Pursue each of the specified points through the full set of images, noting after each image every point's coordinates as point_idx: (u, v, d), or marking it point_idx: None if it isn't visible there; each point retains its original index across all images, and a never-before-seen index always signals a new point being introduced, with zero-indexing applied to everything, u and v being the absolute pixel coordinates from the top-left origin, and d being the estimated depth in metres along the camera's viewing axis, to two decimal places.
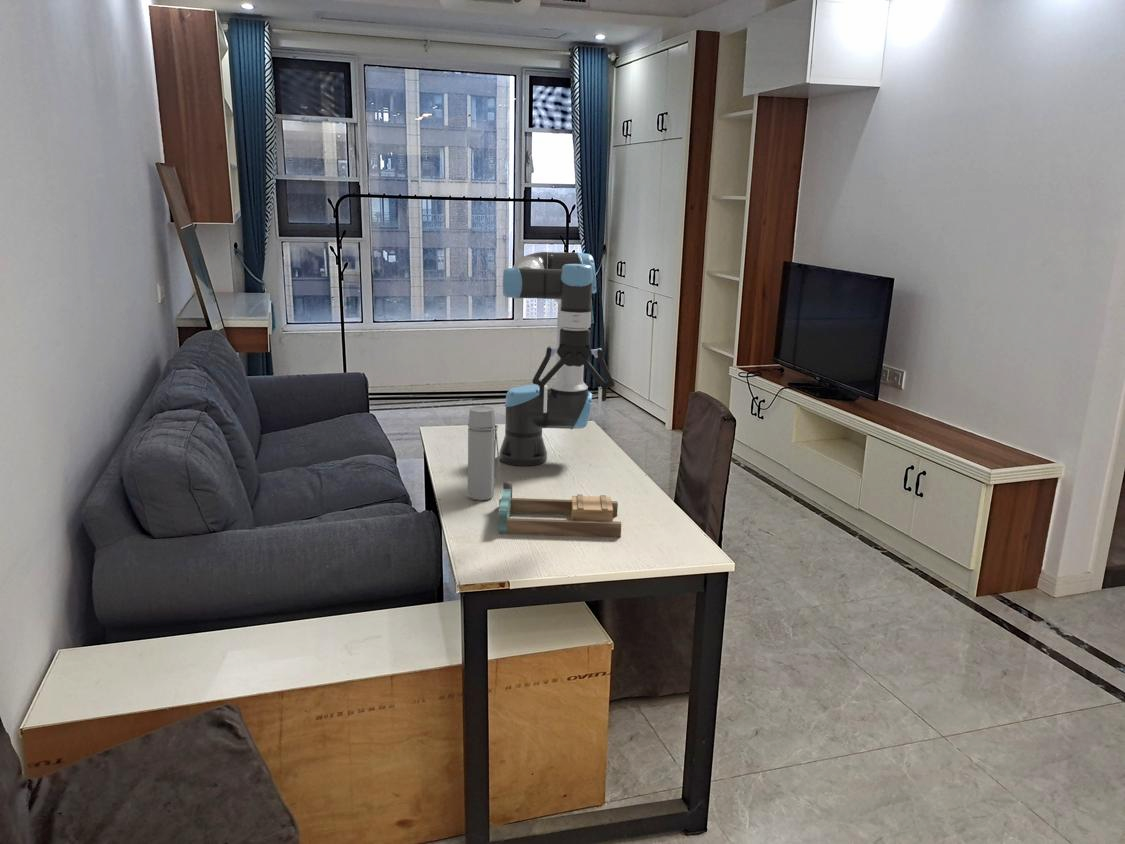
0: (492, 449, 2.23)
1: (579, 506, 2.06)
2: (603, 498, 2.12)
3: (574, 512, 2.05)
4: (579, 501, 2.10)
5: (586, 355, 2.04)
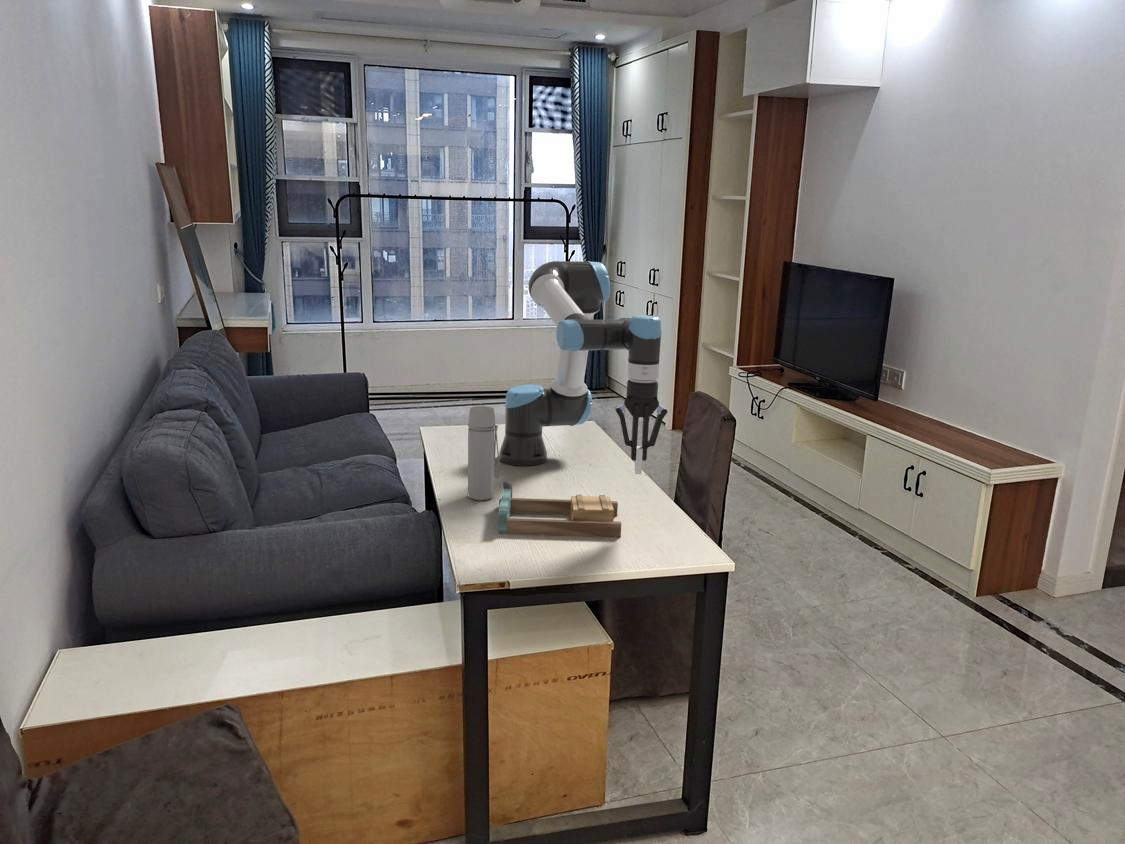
0: (492, 449, 2.23)
1: (580, 506, 2.06)
2: (603, 498, 2.12)
3: (575, 512, 2.05)
4: (579, 501, 2.09)
5: (652, 406, 2.02)
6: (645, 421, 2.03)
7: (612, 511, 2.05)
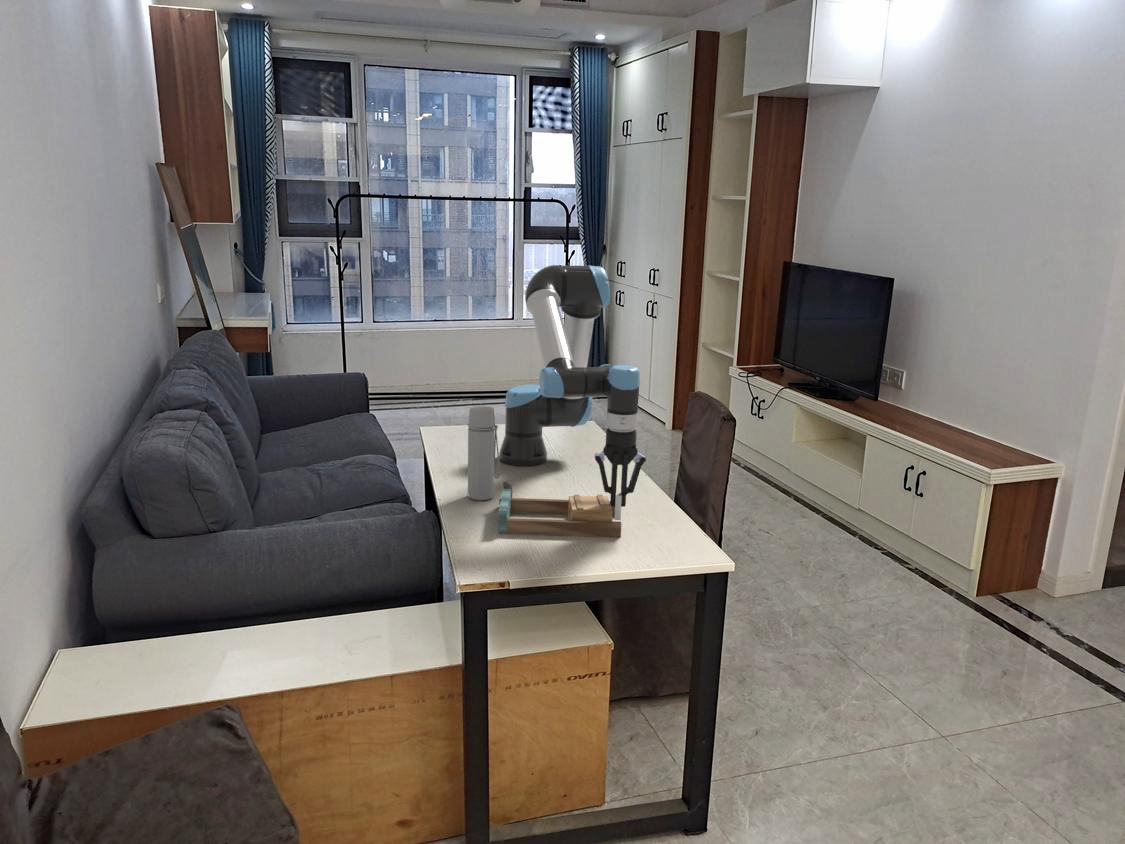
0: (492, 449, 2.23)
1: (578, 506, 2.06)
2: (600, 498, 2.13)
3: (574, 512, 2.05)
4: (577, 501, 2.09)
5: (631, 454, 2.06)
6: (624, 469, 2.06)
7: (611, 511, 2.06)
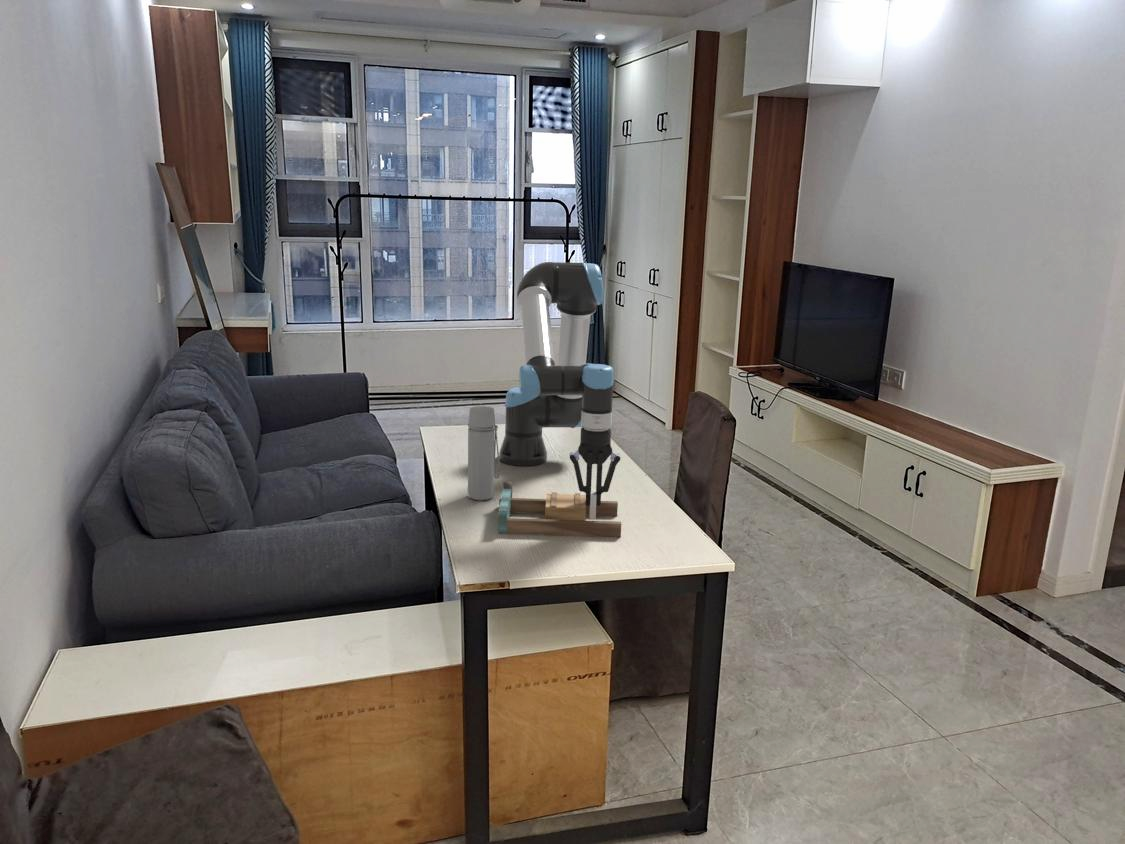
0: (492, 449, 2.23)
1: (552, 504, 2.07)
2: (577, 496, 2.13)
3: (547, 510, 2.06)
4: (553, 499, 2.11)
5: (605, 453, 2.06)
6: (598, 468, 2.06)
7: (584, 509, 2.06)
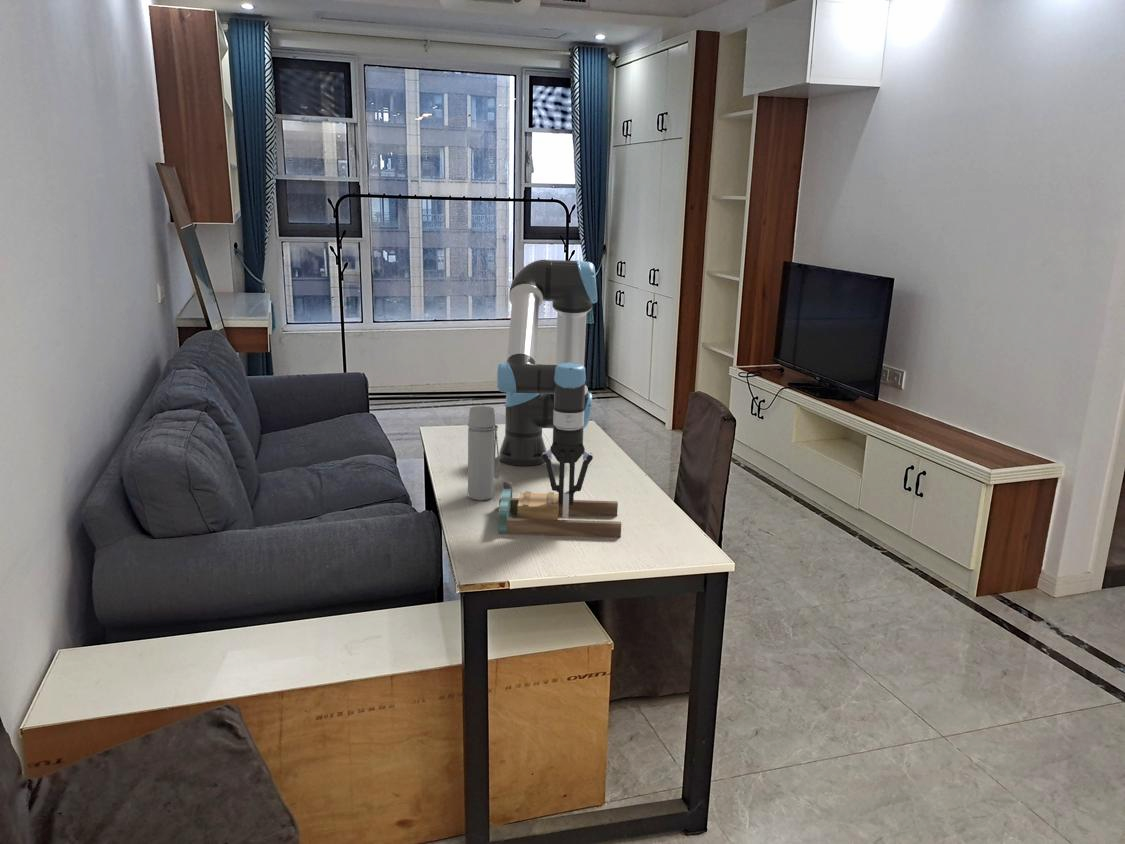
0: (492, 449, 2.23)
1: (524, 503, 2.07)
2: (550, 495, 2.13)
3: (519, 509, 2.06)
4: (525, 498, 2.11)
5: (578, 452, 2.06)
6: (571, 467, 2.06)
7: (556, 508, 2.06)
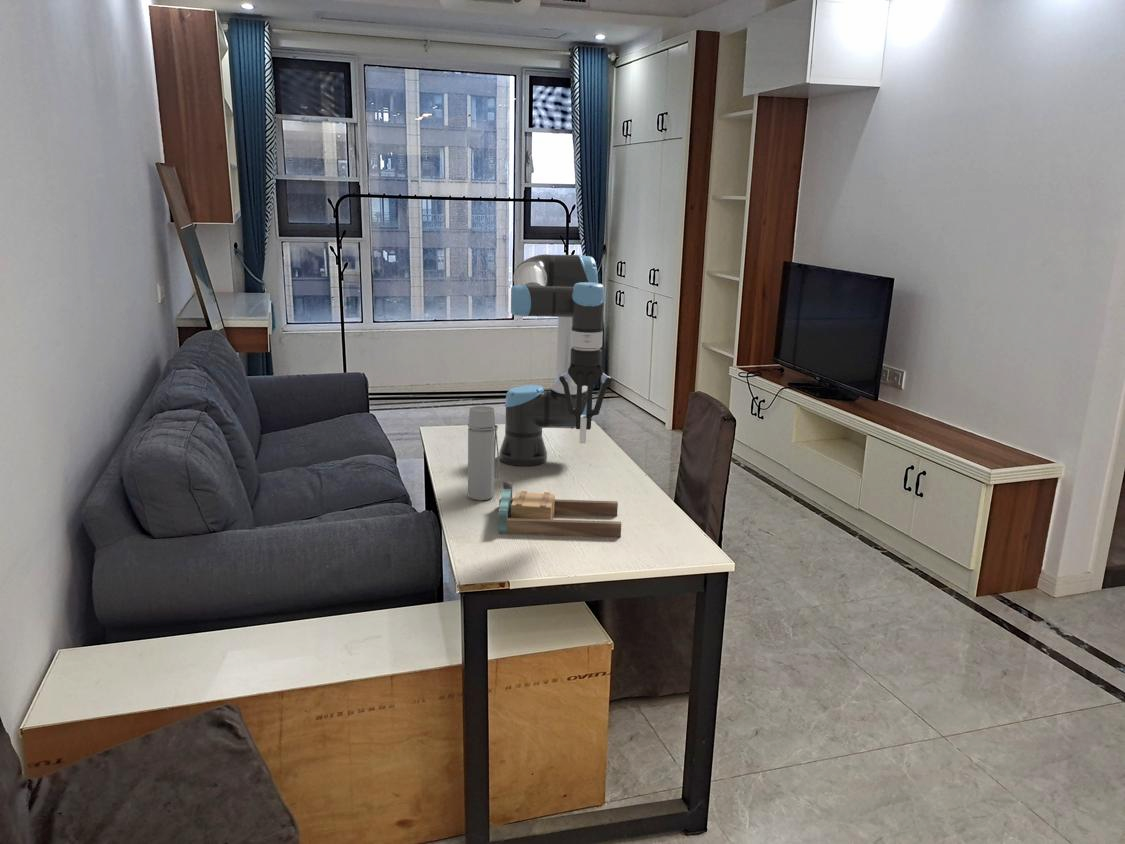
0: (492, 449, 2.23)
1: (518, 502, 2.07)
2: (546, 495, 2.13)
3: (512, 508, 2.07)
4: (520, 497, 2.11)
5: (596, 374, 2.01)
6: (589, 390, 2.01)
7: (549, 508, 2.06)
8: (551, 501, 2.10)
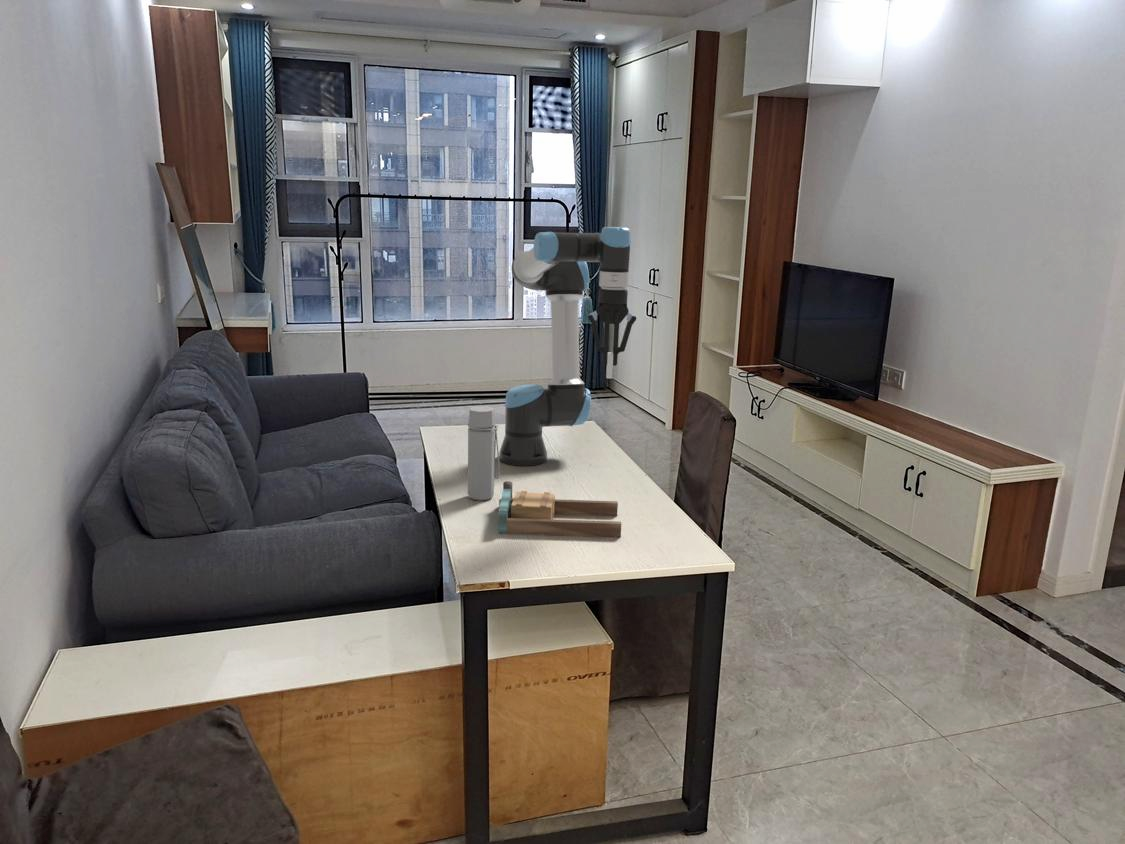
0: (492, 449, 2.23)
1: (518, 502, 2.07)
2: (546, 495, 2.13)
3: (512, 508, 2.07)
4: (520, 497, 2.11)
5: (622, 313, 2.16)
6: (615, 327, 2.16)
7: (549, 508, 2.06)
8: (551, 501, 2.10)
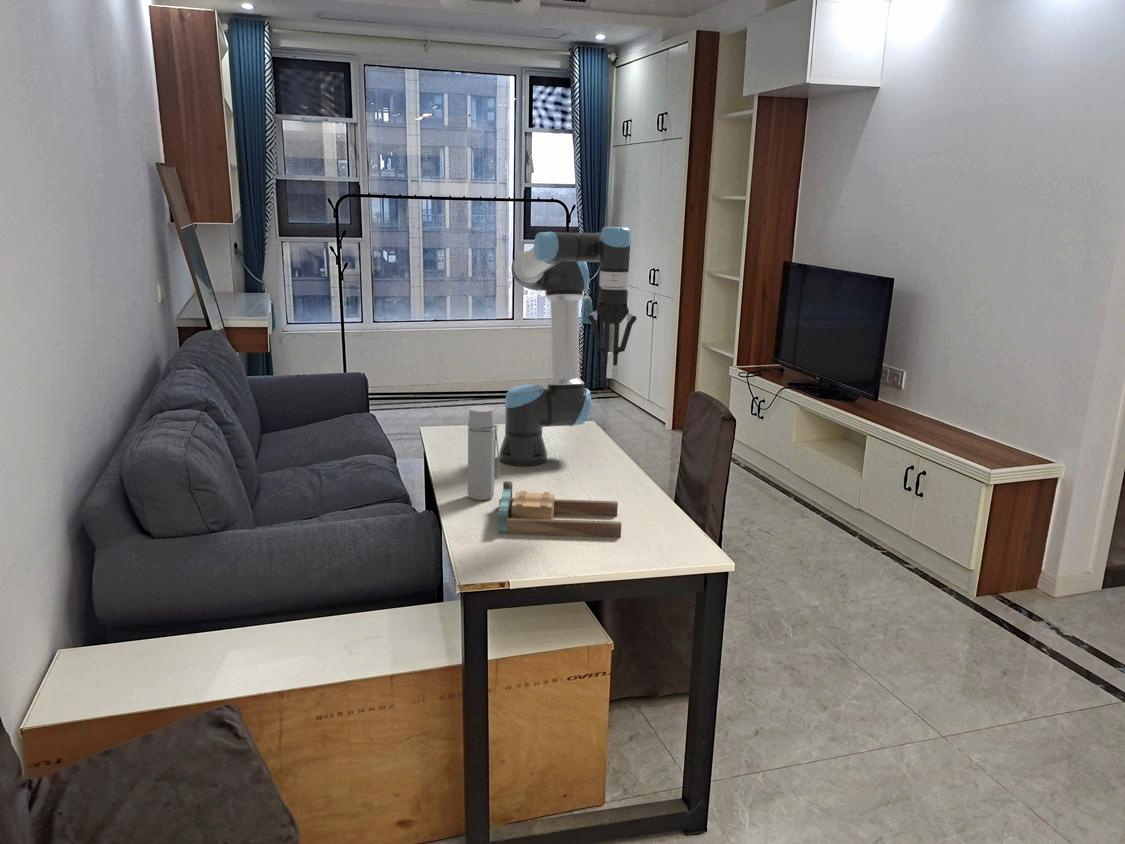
0: (492, 449, 2.23)
1: (518, 502, 2.07)
2: (545, 495, 2.13)
3: (513, 508, 2.06)
4: (520, 498, 2.11)
5: (622, 312, 2.16)
6: (615, 327, 2.16)
7: (550, 508, 2.06)
8: (551, 501, 2.10)
